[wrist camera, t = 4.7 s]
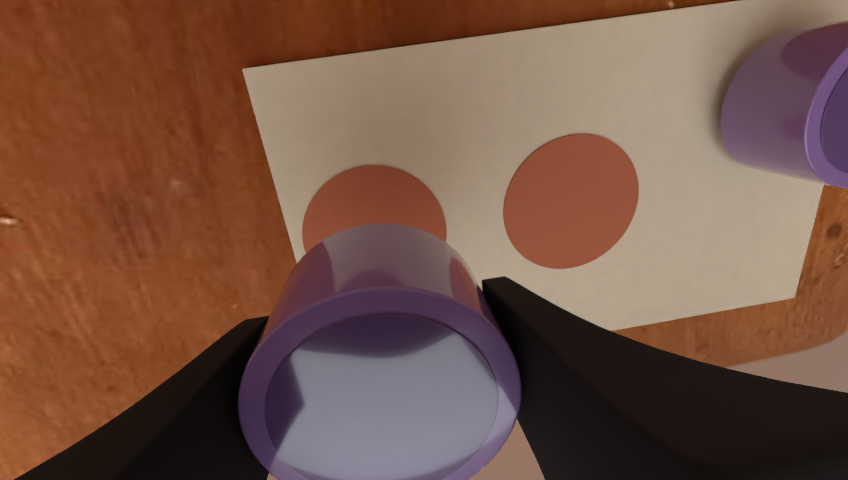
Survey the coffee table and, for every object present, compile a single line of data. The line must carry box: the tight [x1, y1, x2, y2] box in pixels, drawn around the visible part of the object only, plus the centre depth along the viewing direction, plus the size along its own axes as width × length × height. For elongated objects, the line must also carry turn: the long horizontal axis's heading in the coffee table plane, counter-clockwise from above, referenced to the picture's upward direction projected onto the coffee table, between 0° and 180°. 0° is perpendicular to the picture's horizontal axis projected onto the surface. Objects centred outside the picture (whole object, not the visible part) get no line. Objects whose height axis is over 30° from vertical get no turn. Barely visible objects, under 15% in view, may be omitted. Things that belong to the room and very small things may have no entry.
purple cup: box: [720, 20, 848, 188], centre depth 14 cm, size 5×5×4 cm
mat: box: [242, 0, 848, 331], centre depth 17 cm, size 24×14×1 cm, turn 98°
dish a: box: [238, 223, 521, 480], centre depth 9 cm, size 5×5×4 cm
